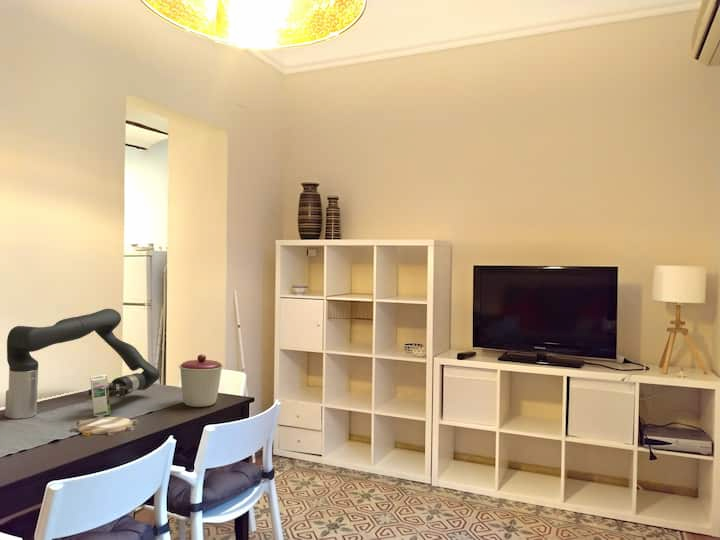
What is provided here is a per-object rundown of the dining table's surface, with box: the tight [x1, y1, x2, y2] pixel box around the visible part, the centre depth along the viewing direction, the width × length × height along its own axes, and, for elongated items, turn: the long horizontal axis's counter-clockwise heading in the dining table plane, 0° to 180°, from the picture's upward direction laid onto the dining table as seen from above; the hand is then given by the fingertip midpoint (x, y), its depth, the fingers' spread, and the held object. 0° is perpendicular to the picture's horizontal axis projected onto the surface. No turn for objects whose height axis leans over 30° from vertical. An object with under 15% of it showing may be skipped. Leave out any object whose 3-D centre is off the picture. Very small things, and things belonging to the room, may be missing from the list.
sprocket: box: [70, 415, 139, 437], centre depth 197 cm, size 22×22×1 cm
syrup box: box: [89, 374, 111, 417], centre depth 210 cm, size 6×6×14 cm
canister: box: [178, 354, 224, 408], centre depth 233 cm, size 18×18×21 cm
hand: (99, 393), depth 210 cm, fingers closed on syrup box, 8 cm apart
